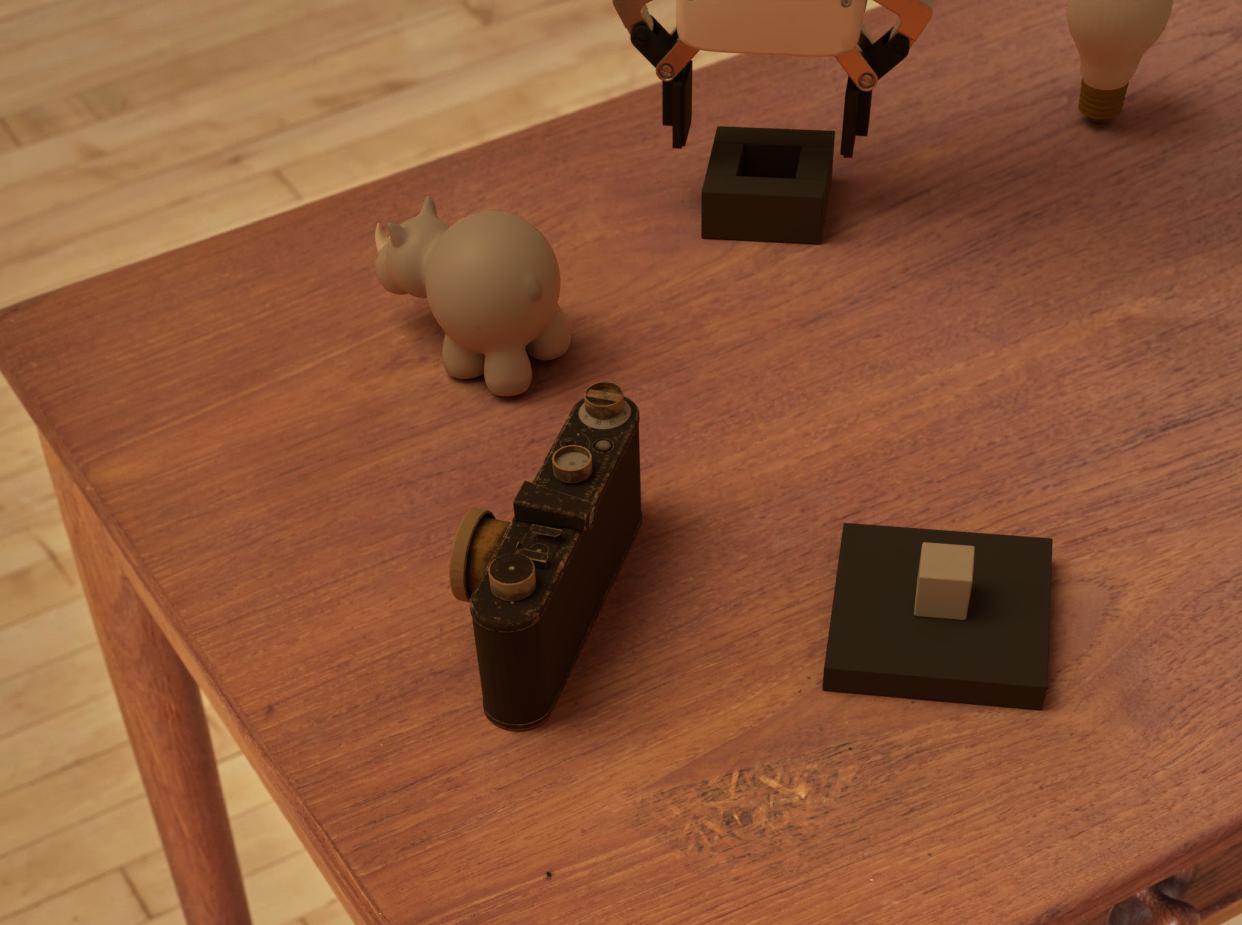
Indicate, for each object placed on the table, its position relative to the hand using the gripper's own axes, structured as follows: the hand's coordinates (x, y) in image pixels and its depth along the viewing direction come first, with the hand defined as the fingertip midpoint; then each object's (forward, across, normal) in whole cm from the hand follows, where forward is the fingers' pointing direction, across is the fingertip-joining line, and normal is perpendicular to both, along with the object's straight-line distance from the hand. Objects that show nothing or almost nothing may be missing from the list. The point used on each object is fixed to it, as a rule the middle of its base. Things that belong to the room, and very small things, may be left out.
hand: (764, 140), depth 104 cm
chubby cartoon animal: (+4, +15, +15) cm, 22 cm away
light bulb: (+4, -19, -11) cm, 23 cm away
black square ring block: (+4, 0, 0) cm, 4 cm away
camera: (+4, +7, +35) cm, 36 cm away
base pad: (+4, -12, +34) cm, 37 cm away
